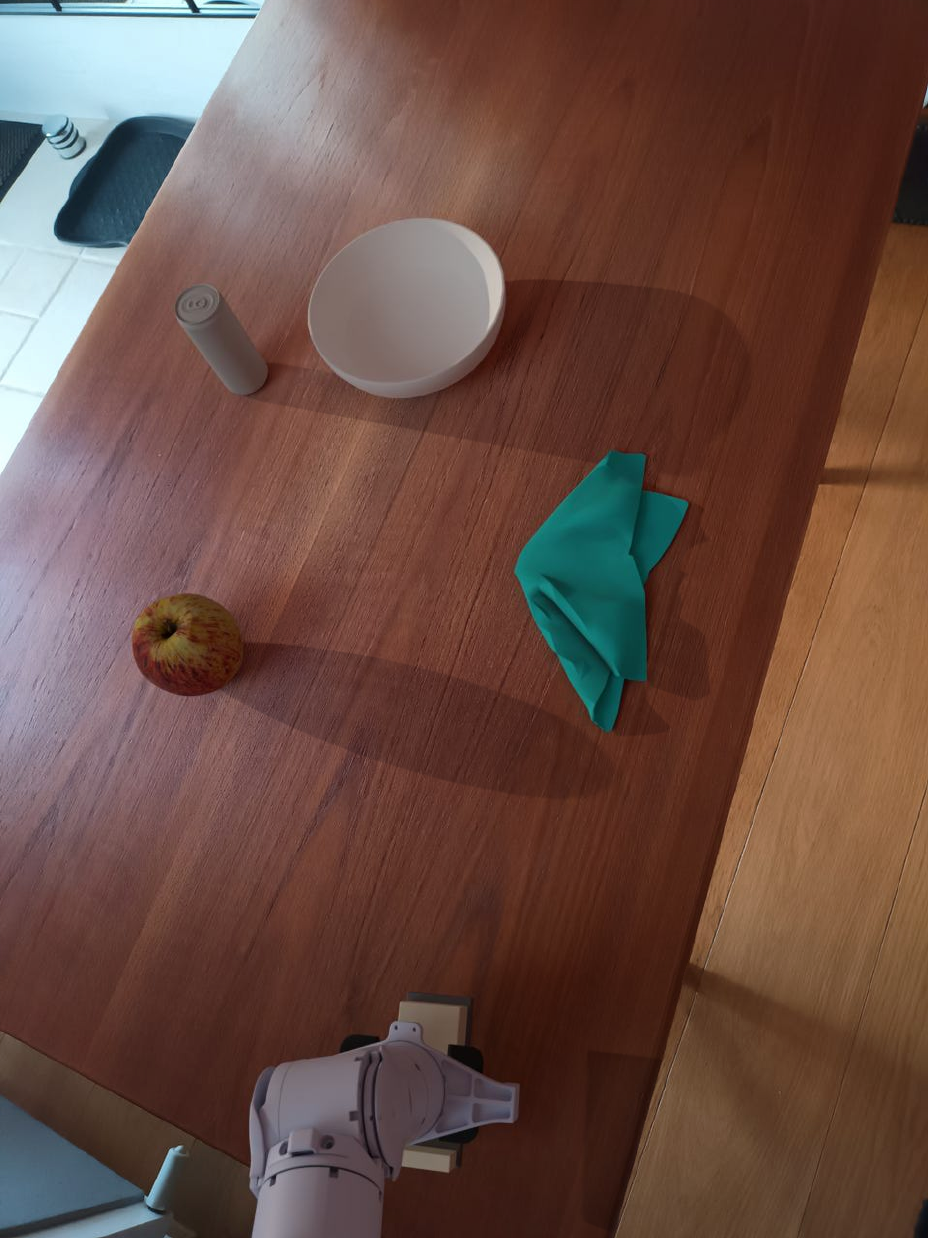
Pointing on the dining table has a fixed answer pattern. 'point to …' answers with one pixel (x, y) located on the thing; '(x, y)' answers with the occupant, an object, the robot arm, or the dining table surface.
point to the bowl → (408, 307)
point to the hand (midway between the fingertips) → (432, 1077)
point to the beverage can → (220, 338)
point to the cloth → (599, 578)
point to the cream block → (442, 1026)
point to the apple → (187, 644)
